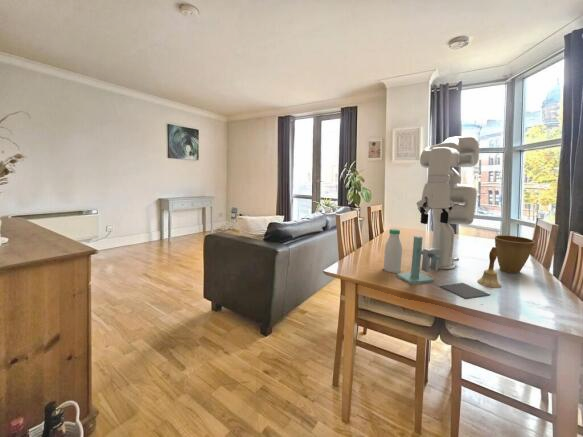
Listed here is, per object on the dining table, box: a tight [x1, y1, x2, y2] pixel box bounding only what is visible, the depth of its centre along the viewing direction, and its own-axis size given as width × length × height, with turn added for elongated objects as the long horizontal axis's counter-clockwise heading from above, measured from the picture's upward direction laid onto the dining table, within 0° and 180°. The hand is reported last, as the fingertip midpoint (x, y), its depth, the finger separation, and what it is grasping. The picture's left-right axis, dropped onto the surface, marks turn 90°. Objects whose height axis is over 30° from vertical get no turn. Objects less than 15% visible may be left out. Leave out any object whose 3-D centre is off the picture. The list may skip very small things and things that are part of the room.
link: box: [421, 247, 440, 273], centre depth 112 cm, size 6×2×9 cm, turn 106°
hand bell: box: [477, 246, 502, 288], centre depth 116 cm, size 8×8×16 cm
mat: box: [439, 282, 491, 300], centre depth 109 cm, size 12×12×1 cm
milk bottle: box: [383, 228, 403, 274], centre depth 131 cm, size 8×8×20 cm
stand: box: [395, 235, 440, 285], centre depth 117 cm, size 12×17×19 cm
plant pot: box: [494, 234, 536, 274], centre depth 132 cm, size 15×15×16 cm
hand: (433, 223), depth 110 cm, fingers open, 9 cm apart
